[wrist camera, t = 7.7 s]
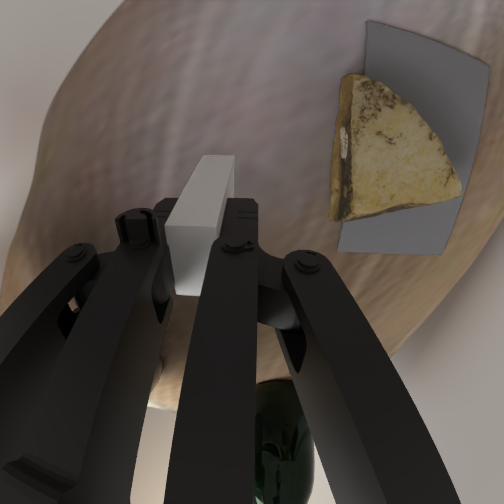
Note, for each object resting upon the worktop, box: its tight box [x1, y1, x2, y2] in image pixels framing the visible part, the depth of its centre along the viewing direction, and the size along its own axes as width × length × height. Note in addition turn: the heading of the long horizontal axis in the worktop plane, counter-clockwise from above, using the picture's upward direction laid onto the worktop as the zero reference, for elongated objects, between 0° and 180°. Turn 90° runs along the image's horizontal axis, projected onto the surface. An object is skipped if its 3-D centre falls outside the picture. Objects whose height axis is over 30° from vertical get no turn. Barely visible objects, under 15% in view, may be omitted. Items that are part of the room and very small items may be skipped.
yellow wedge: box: [328, 73, 463, 222], centre depth 19 cm, size 11×9×10 cm
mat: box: [337, 21, 489, 255], centre depth 20 cm, size 12×20×1 cm, turn 179°
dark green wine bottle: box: [253, 381, 315, 504], centre depth 30 cm, size 10×10×33 cm
